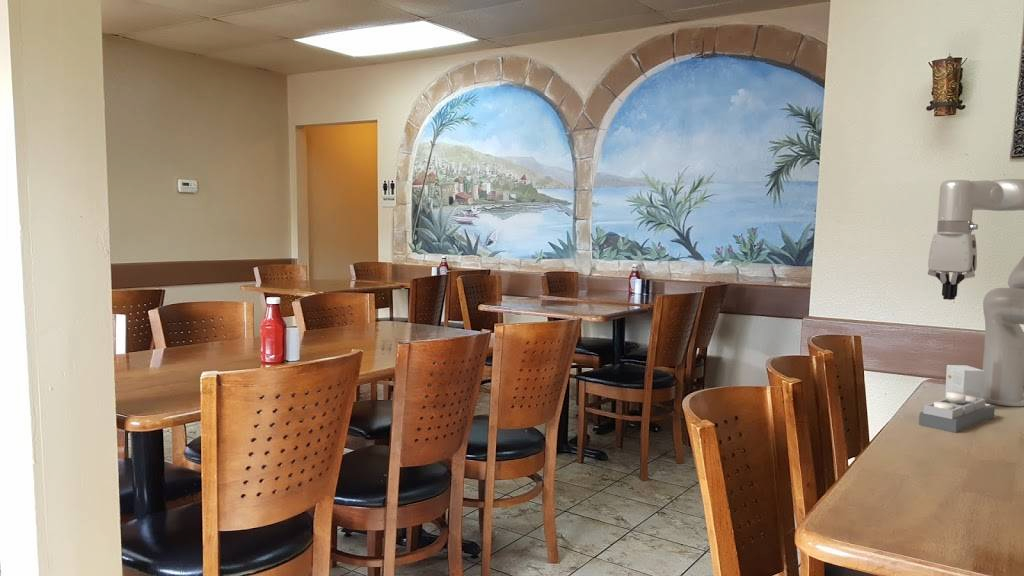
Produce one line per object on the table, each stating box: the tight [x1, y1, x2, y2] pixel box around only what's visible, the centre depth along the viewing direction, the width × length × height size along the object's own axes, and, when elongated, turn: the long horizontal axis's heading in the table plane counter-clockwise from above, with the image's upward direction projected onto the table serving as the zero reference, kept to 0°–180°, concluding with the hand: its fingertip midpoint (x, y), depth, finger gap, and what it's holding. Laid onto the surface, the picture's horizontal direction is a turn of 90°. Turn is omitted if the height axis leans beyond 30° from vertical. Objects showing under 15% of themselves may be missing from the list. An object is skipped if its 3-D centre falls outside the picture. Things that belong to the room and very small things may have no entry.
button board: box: [918, 397, 996, 434], centre depth 174 cm, size 24×8×5 cm, turn 128°
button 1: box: [933, 401, 954, 410], centre depth 168 cm, size 4×4×2 cm
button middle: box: [946, 391, 966, 403], centre depth 173 cm, size 4×4×2 cm
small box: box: [944, 364, 985, 399], centre depth 190 cm, size 8×6×10 cm
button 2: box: [966, 395, 977, 402], centre depth 177 cm, size 4×4×2 cm
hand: (949, 299), depth 184 cm, fingers closed
